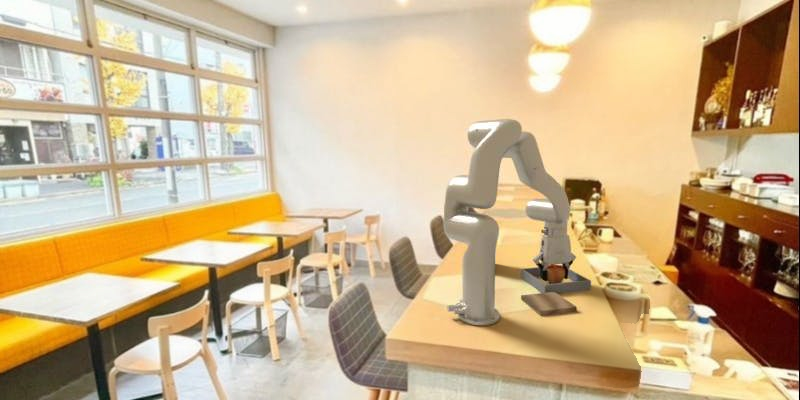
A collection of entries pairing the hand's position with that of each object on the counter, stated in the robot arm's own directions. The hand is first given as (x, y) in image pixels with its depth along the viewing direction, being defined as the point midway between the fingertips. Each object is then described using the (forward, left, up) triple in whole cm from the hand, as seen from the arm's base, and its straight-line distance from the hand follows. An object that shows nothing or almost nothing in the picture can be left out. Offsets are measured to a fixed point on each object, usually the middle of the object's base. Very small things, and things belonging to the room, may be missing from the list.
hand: (554, 278), depth 138 cm
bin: (0, 0, -2) cm, 2 cm away
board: (-12, -16, -2) cm, 20 cm away
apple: (0, 0, -2) cm, 2 cm away
